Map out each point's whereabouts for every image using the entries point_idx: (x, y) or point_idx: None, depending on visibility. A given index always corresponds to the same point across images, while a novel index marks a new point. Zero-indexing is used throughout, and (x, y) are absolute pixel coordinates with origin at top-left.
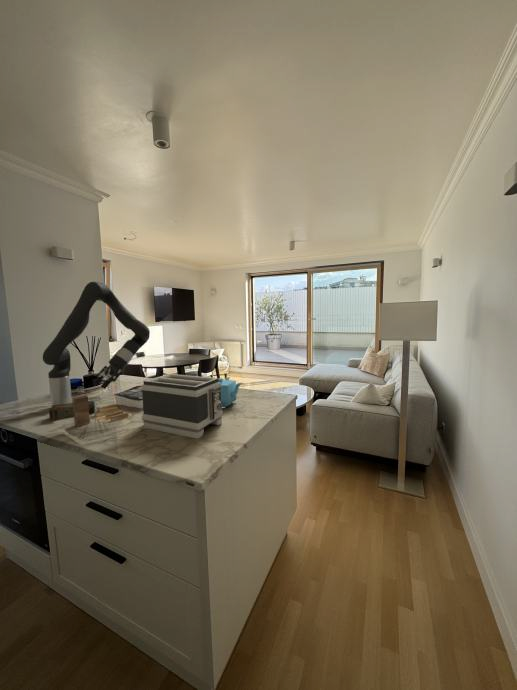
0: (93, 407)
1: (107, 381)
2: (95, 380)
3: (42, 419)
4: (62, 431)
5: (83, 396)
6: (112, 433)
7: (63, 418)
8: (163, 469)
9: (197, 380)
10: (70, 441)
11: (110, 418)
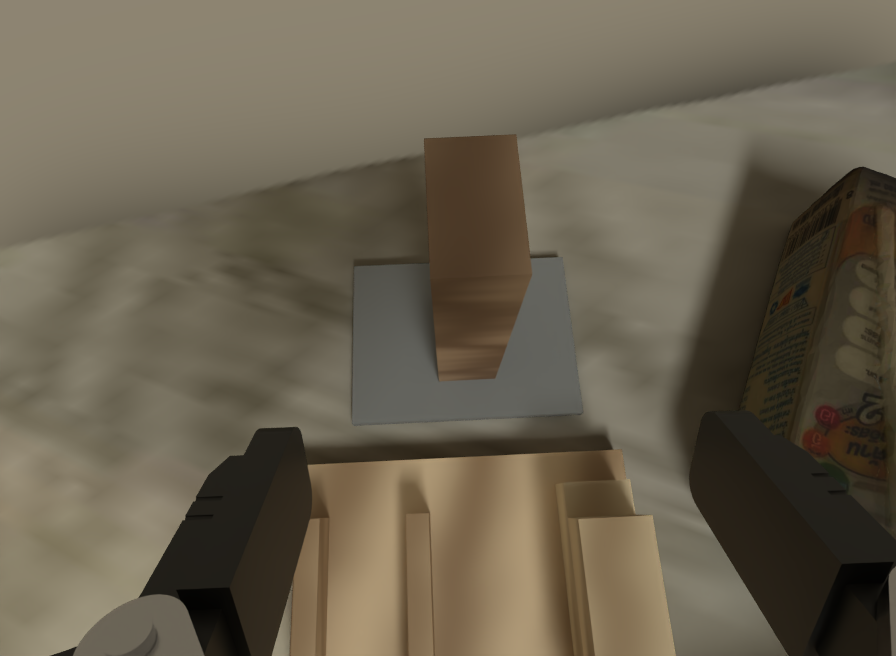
0: None
1: (152, 583)
2: (794, 470)
3: None
4: None
5: (475, 240)
6: (118, 433)
7: (772, 292)
8: None
9: None
10: (252, 206)
11: (319, 518)
